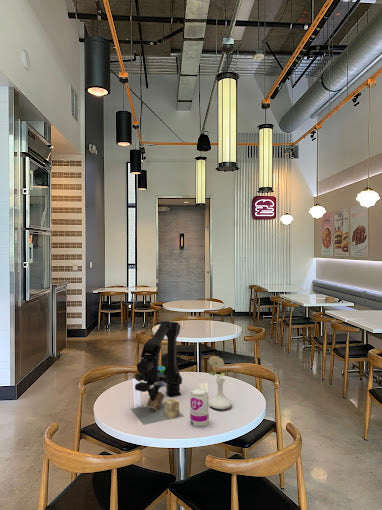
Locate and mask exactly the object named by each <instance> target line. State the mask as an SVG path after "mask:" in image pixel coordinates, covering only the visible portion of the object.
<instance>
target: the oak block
mask: <svg viewBox="0 0 382 510" xmlns="http://www.w3.org/2000/svg"><path fill="white" fill-rule="evenodd" d="M163 401H164V402H163V403H165V416H166V417H168V418H169V420H173V419H172V418H174V419H176V418H175V417H179V412H180V401H179V400H178V399H176V398H173V397H171V398H169V399H165V400H163ZM179 418H180V417H179Z"/></svg>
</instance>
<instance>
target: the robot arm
mask: <svg viewBox="0 0 382 510" xmlns="http://www.w3.org/2000/svg"><path fill="white" fill-rule="evenodd" d="M180 330H181V324H180V323H179V322H178V321H170V320H162V321H160V325H159V327H158V328H157V330H156V331H155V333H154V334H153V336H152V338H149V339H148V340H147V341H146V342H145V344H144V345H143V348H142V351H141V353H140V362H138V363H137V366H136V370H137V372H138V373H135V374H134V375H135V376H134V379H135V381H138V382H137V383H136V384H135V385H134V390H135V391H139V392H142V393H146V392H147V393H148V396H149V398H150V399H151V401H154V399H155V397H156V394H157V392H159V390H160V388H162V386H161V385H159V382H160V381H163V384H166V387H165V391H166V392H165V394H166V395H167V396H169V397H170V398H173V397H179V396H182V394H181V389H180V388H181V385H182V383H183V377H182V375H181V374H180V369H179V367H178V365H177V338H178V337H179V334H180V332H181V331H180ZM165 337H166V338H167V365H166V367H165V369H164V375H161V374H160V375H158V373H159V372H160V370H158V366H159V358H160V353H161V350H162V343H163V340H164V339H165Z"/></svg>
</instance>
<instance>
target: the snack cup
mask: <svg viewBox="0 0 382 510" xmlns="http://www.w3.org/2000/svg"><path fill="white" fill-rule="evenodd" d="M164 369H166V367H165V366H163V365H158V370H160V372H159V373H158V375H160V374H161V375H164ZM163 384H164V382H163V381H160V382H159V385H161V387H162V386H164V385H163Z"/></svg>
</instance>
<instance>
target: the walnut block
mask: <svg viewBox="0 0 382 510" xmlns="http://www.w3.org/2000/svg"><path fill="white" fill-rule="evenodd" d="M164 399H165V394H163V392H162V391H158V392H157V394H156V397H155V399H154V401H151V399H150V397H149V398H148V401H147V403H146V405H145V406H147V407H148V408H149V409H151V410H155V411H159V408H160V406H161V403H163V401H164Z"/></svg>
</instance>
